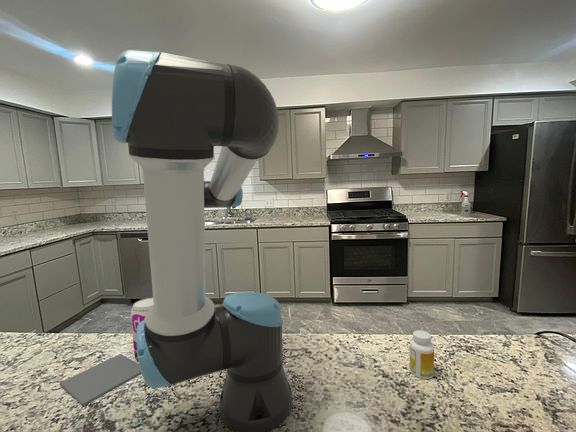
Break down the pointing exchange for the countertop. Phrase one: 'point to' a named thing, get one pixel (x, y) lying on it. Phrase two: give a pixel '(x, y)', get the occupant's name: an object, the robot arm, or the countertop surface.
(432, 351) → the supplement bottle
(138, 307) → the supplement can
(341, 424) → the countertop surface
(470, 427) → the countertop surface
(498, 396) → the countertop surface
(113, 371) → the mat
